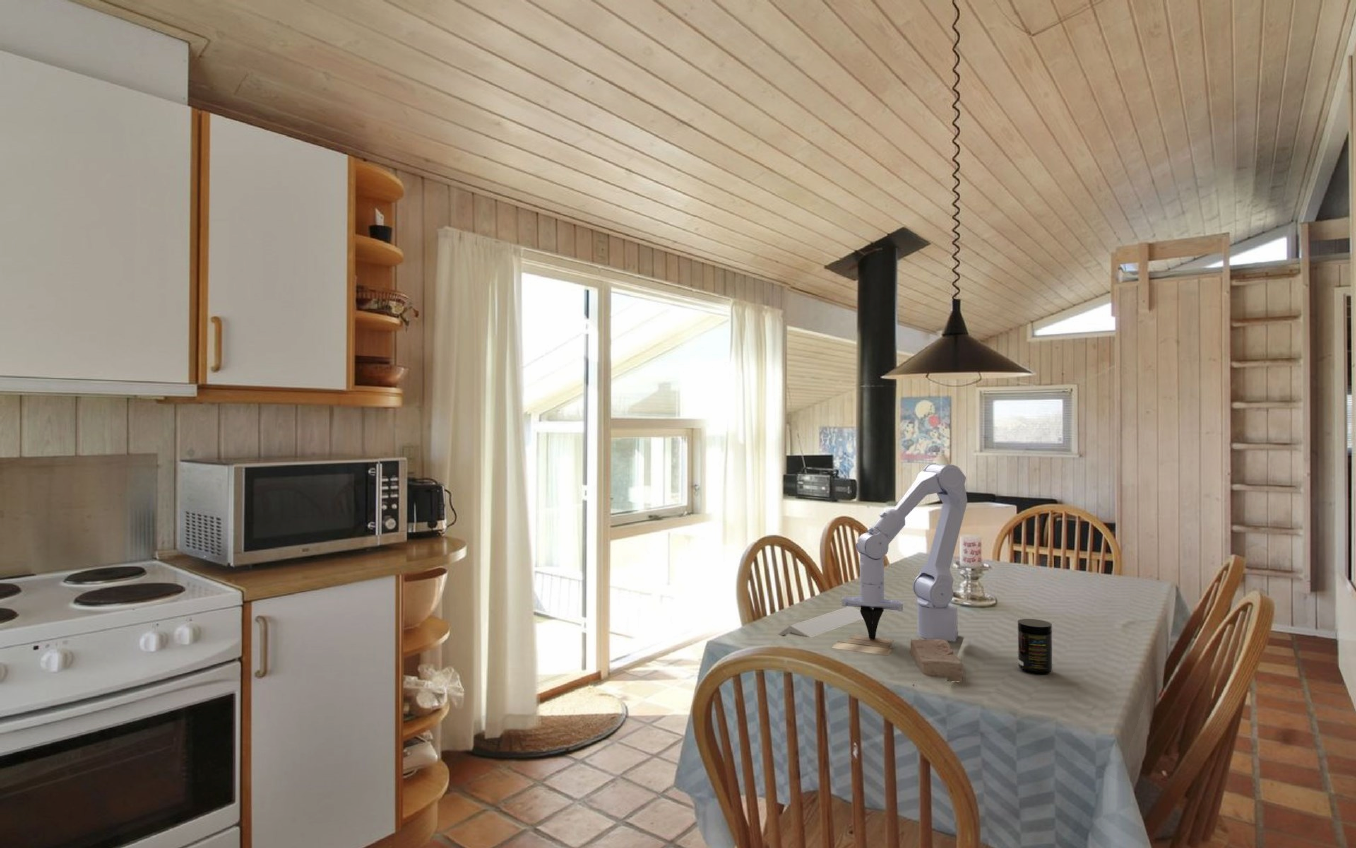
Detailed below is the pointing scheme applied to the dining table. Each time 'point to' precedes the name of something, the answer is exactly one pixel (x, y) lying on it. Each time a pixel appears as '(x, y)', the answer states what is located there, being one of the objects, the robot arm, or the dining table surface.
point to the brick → (936, 658)
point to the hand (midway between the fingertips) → (872, 637)
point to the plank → (870, 641)
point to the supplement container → (1035, 646)
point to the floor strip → (862, 648)
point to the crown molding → (825, 622)
